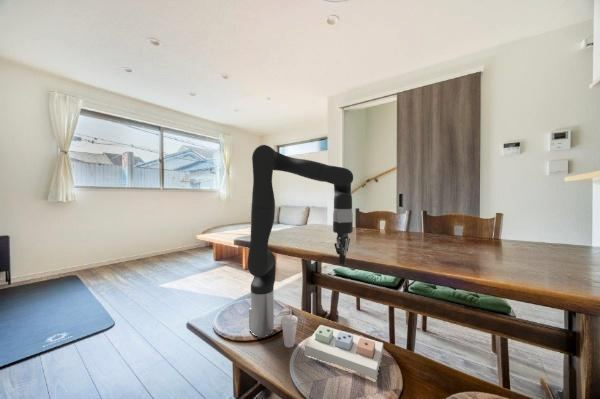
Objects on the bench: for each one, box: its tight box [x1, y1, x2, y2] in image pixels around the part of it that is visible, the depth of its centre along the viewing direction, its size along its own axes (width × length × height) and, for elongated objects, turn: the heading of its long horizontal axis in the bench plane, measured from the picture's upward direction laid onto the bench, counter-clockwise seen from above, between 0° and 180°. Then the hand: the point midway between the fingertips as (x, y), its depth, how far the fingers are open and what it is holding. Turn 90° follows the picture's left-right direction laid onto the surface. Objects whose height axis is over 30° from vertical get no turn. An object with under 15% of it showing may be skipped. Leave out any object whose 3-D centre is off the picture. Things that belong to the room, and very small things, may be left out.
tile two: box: [315, 325, 333, 344], centre depth 85 cm, size 5×5×6 cm
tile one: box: [357, 338, 375, 359], centre depth 78 cm, size 5×5×6 cm
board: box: [304, 324, 384, 380], centre depth 82 cm, size 24×14×4 cm, turn 62°
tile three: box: [335, 332, 353, 351], centre depth 82 cm, size 5×5×6 cm
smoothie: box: [280, 307, 299, 349], centre depth 87 cm, size 6×6×14 cm
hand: (342, 264), depth 91 cm, fingers closed
